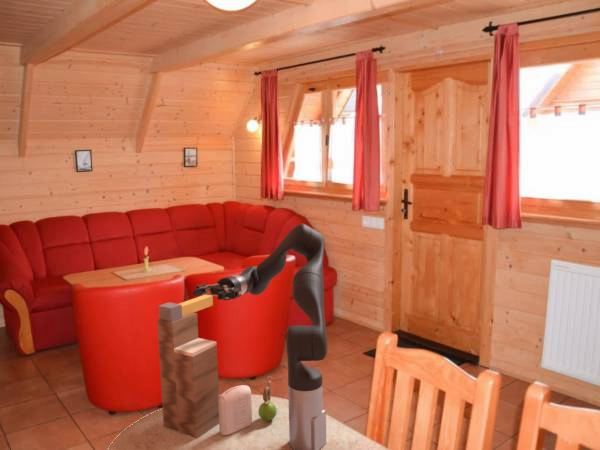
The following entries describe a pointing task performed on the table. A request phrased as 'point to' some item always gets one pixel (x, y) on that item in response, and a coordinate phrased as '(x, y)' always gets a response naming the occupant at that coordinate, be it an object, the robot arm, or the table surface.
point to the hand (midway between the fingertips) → (206, 294)
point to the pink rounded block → (235, 409)
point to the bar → (184, 308)
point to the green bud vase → (267, 404)
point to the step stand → (188, 377)
